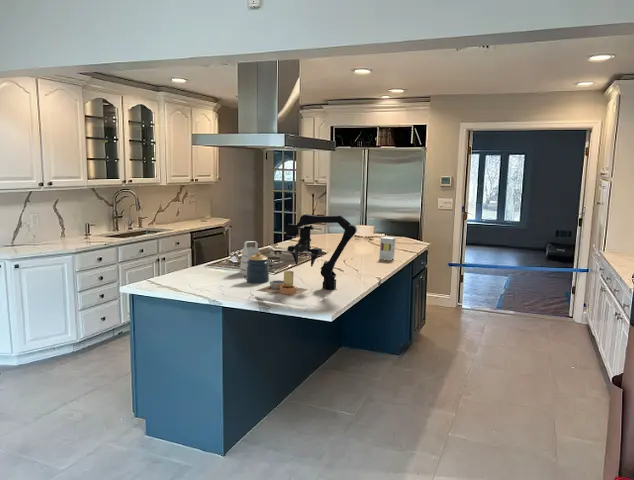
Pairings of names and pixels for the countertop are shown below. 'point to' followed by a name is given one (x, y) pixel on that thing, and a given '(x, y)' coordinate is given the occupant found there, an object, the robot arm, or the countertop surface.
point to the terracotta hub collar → (287, 290)
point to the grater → (247, 256)
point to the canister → (257, 269)
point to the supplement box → (387, 248)
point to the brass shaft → (288, 279)
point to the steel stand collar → (276, 284)
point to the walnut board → (277, 291)
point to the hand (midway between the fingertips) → (304, 265)
